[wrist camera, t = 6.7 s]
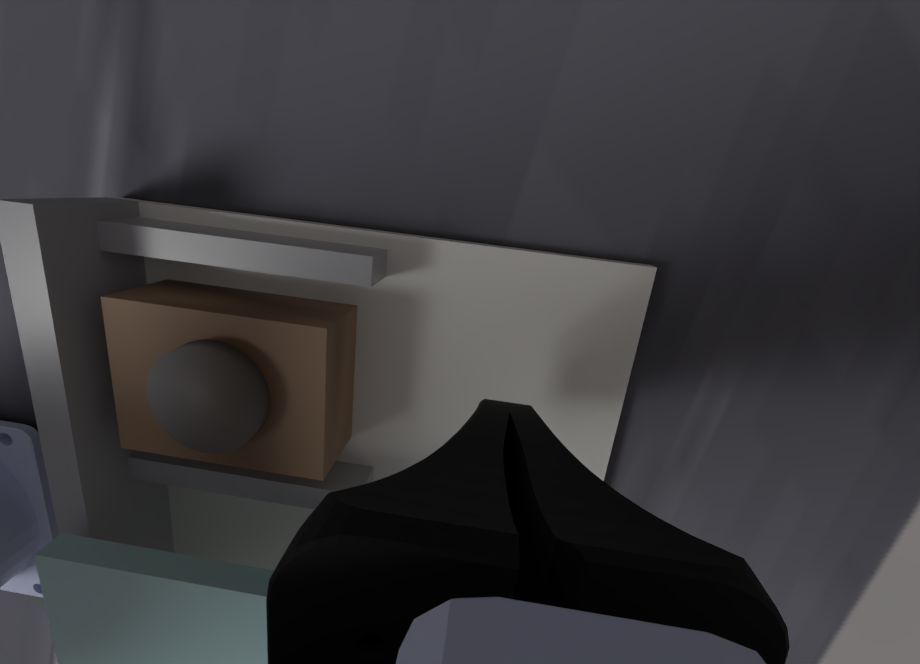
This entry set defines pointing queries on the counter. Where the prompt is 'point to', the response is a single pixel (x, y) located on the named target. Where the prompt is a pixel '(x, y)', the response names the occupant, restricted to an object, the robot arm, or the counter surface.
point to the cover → (150, 605)
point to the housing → (376, 355)
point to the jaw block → (232, 375)
